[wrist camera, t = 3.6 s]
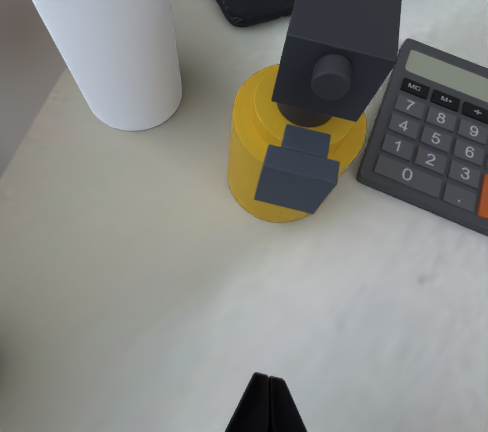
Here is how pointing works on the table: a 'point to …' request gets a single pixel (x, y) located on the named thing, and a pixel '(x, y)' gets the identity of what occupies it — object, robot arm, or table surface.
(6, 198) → the table surface
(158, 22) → the cylindrical container
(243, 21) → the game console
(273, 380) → the robot arm
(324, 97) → the spray bottle
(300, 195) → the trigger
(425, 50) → the calculator
